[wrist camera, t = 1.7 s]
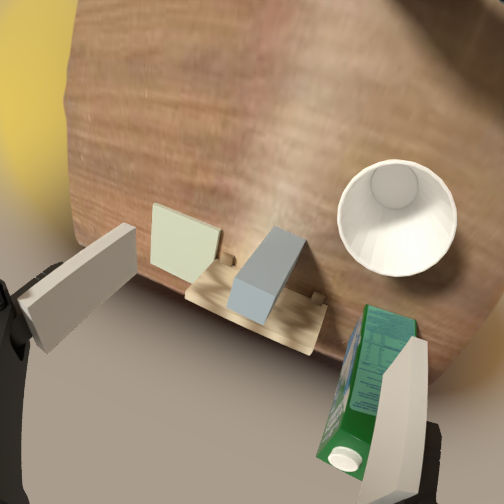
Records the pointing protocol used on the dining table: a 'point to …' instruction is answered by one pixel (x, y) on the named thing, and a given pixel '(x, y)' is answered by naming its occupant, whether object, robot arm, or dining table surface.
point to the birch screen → (280, 318)
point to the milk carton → (362, 388)
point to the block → (265, 275)
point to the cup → (397, 218)
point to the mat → (182, 243)
